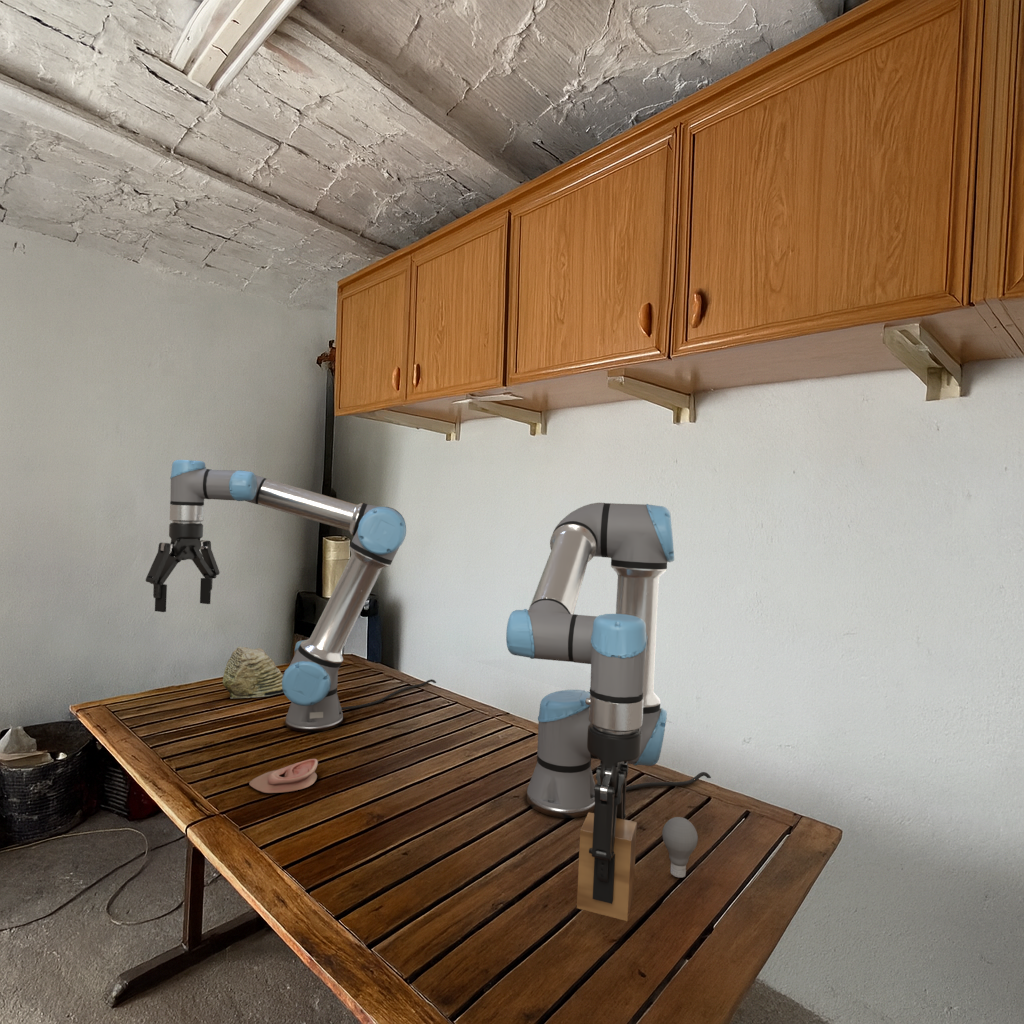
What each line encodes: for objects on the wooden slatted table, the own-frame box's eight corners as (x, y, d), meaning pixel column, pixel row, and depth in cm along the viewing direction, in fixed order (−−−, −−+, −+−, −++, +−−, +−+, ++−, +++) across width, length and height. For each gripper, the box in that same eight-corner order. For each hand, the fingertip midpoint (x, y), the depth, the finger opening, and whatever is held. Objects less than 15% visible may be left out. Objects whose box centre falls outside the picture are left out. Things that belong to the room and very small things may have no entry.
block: (585, 886, 94) (588, 811, 94) (633, 898, 92) (636, 821, 91) (576, 908, 89) (580, 829, 89) (627, 921, 86) (631, 840, 86)
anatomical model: (241, 770, 135) (272, 750, 146) (240, 789, 135) (271, 767, 146) (297, 779, 132) (324, 757, 144) (297, 798, 132) (324, 775, 144)
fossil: (218, 695, 195) (220, 647, 195) (278, 685, 208) (279, 640, 207) (228, 703, 189) (230, 653, 188) (289, 692, 201) (290, 645, 201)
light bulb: (655, 865, 113) (658, 810, 113) (688, 865, 114) (691, 810, 114) (666, 886, 107) (669, 827, 107) (701, 886, 108) (704, 827, 108)
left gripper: (213, 520, 170) (210, 599, 171) (130, 522, 147) (127, 613, 147) (235, 522, 168) (232, 601, 168) (154, 524, 144) (151, 616, 145)
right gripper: (601, 702, 100) (594, 848, 100) (573, 743, 82) (565, 920, 83) (649, 709, 97) (642, 859, 98) (631, 753, 80) (622, 935, 80)
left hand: (183, 607), depth 158 cm, fingers open, 13 cm apart
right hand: (607, 886), depth 90 cm, fingers closed on block, 5 cm apart
